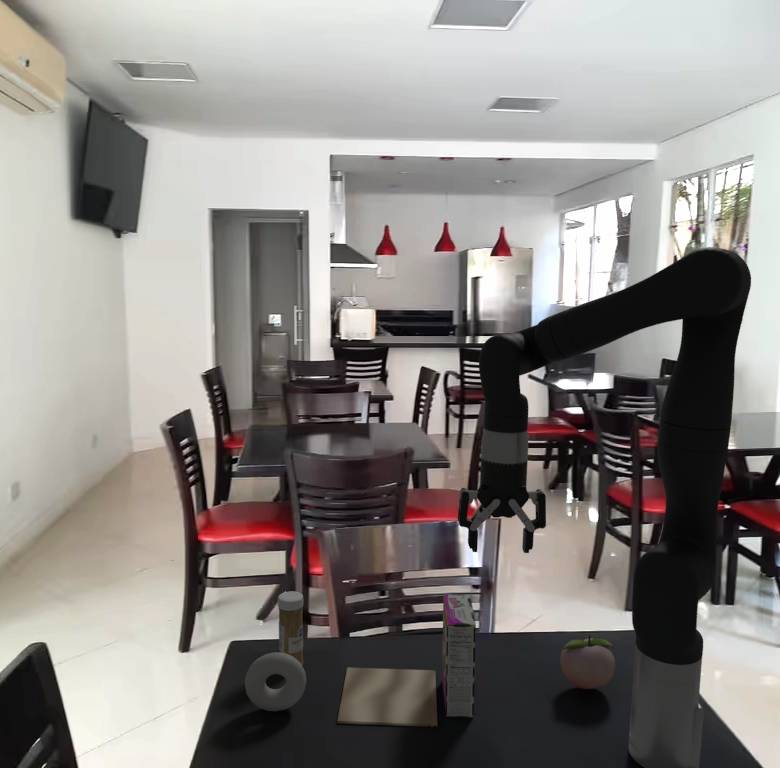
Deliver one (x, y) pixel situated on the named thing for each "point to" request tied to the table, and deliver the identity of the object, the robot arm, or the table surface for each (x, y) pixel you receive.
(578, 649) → the decorative fruit
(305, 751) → the table surface
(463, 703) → the candy bar box
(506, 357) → the robot arm
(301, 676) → the donut
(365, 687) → the oak mat
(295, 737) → the table surface
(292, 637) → the sprinkles bottle
